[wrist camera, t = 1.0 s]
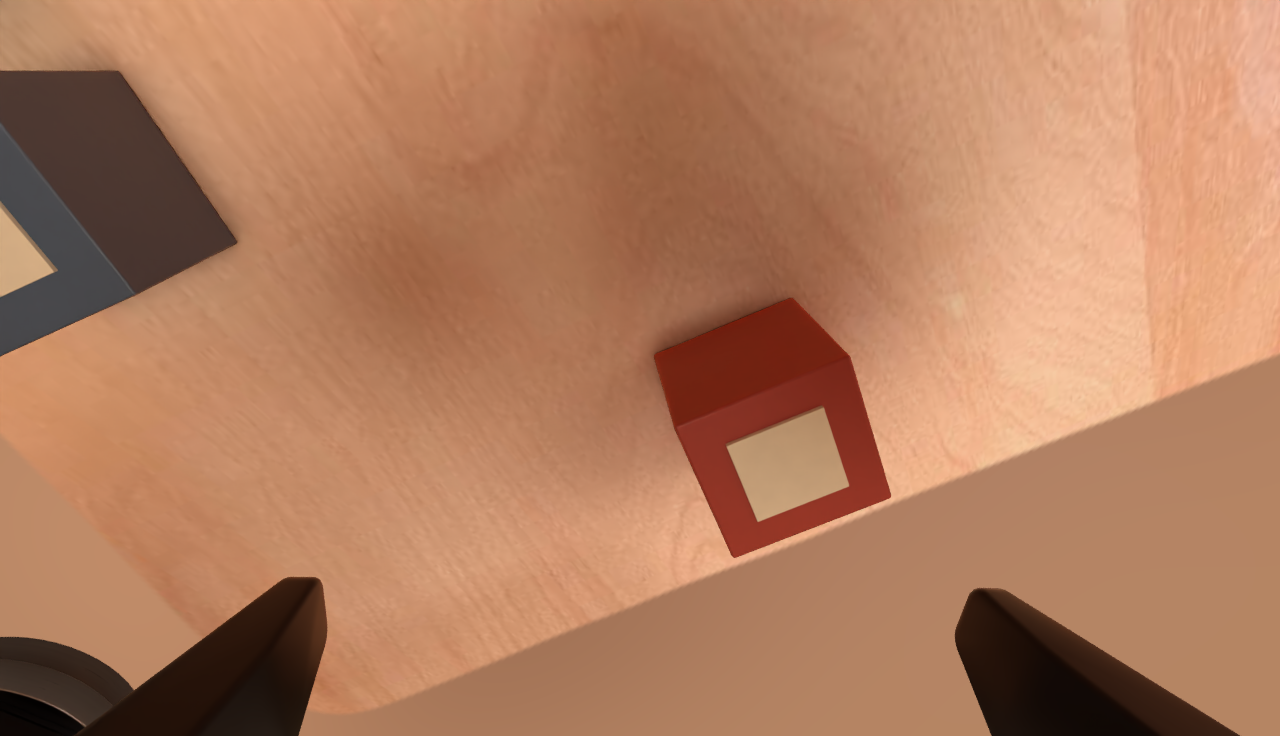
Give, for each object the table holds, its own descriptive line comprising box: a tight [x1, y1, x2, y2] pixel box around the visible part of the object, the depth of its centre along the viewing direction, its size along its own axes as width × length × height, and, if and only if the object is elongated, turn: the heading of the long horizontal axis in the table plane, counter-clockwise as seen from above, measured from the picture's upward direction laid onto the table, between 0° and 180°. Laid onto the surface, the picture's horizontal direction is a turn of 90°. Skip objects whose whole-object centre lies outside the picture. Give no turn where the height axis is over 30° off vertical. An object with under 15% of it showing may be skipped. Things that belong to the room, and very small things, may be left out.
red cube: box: [654, 298, 891, 558], centre depth 21 cm, size 5×5×5 cm
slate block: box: [0, 71, 237, 356], centre depth 16 cm, size 5×5×5 cm
